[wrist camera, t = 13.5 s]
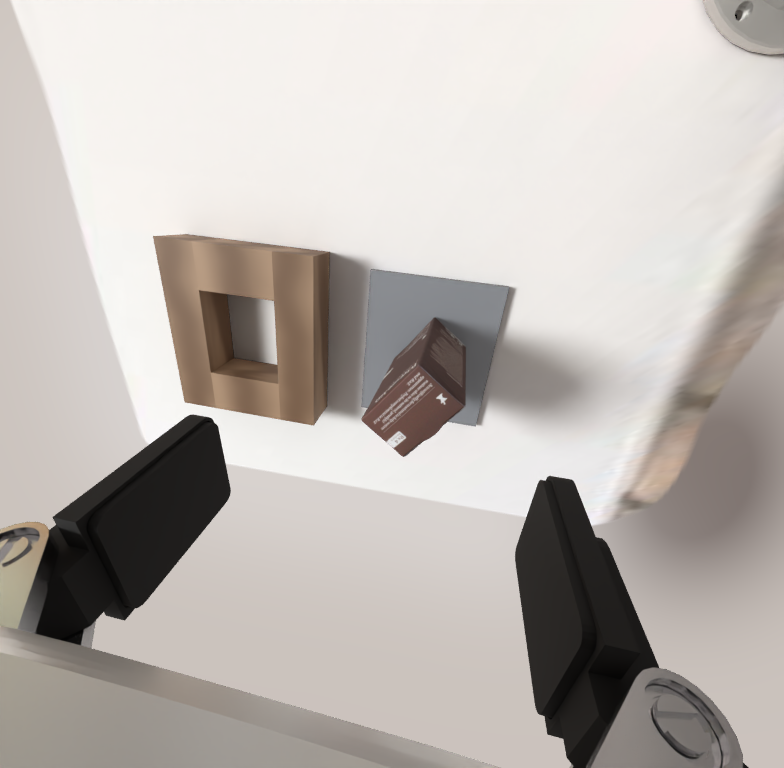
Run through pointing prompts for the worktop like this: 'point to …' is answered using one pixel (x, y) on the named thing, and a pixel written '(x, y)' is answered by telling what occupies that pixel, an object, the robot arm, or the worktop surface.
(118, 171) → the worktop surface
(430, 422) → the box
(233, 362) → the pocket block
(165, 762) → the robot arm
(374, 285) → the mat
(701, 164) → the worktop surface
